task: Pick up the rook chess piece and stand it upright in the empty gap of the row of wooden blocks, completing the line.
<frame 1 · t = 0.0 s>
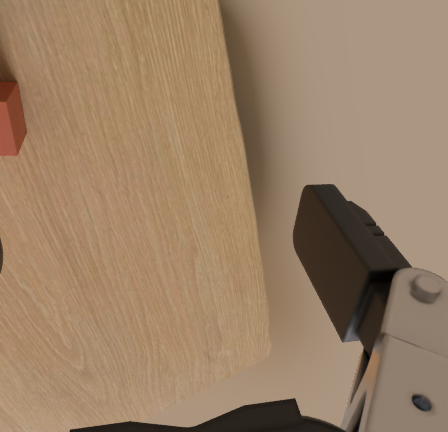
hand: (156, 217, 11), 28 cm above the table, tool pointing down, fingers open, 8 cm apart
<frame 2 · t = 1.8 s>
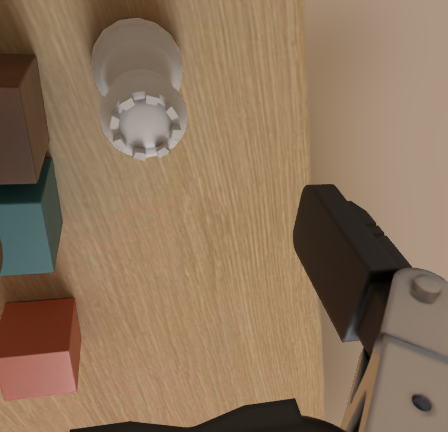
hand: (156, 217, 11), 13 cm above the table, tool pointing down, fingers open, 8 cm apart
teal block: (16, 192, 24), on the table
terracotta block: (45, 322, 31), on the table
rook chess piece: (137, 62, 22), on the table
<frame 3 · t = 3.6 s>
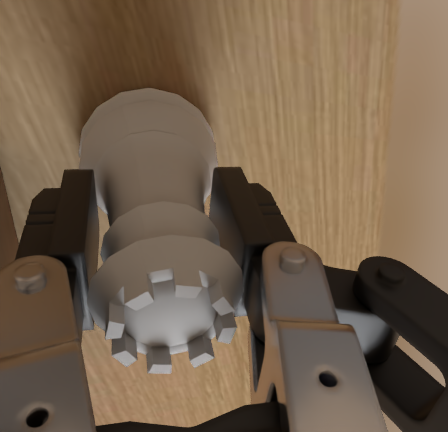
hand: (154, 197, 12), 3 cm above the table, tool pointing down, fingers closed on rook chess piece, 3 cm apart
rook chess piece: (148, 145, 15), on the table, touching gripper
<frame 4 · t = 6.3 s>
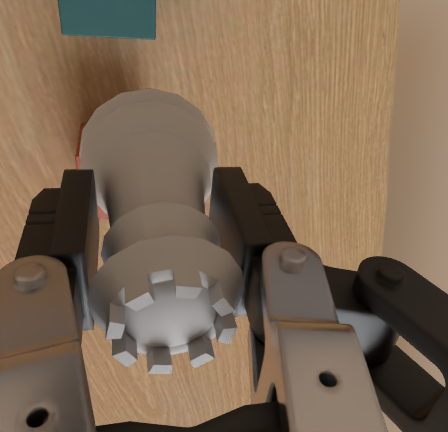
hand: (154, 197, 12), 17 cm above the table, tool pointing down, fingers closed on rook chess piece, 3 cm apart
rook chess piece: (148, 145, 15), point 14 cm above the table, touching gripper
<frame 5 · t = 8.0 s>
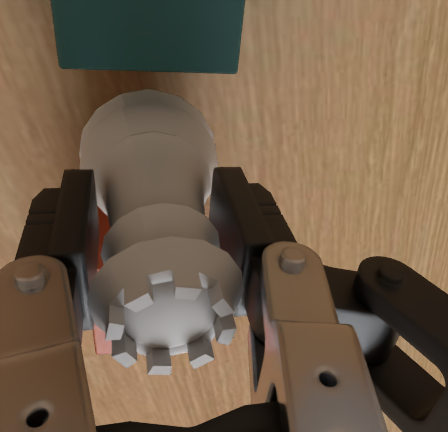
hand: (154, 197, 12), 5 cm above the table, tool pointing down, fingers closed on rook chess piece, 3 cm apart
terracotta block: (147, 236, 19), on the table
rook chess piece: (148, 146, 15), point 2 cm above the table, touching gripper
when the fingers open (3 cm above the table, at t = 9.0 s): rook chess piece stays where it is, on the table.
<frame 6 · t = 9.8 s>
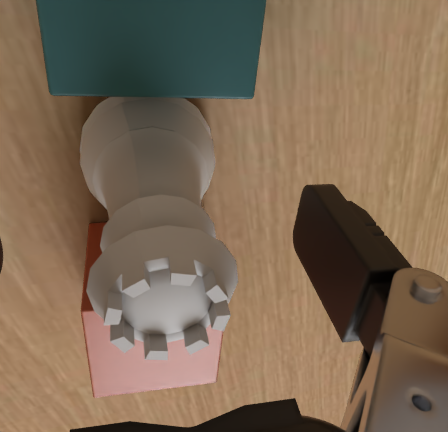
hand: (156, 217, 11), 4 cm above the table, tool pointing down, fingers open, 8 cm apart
terracotta block: (149, 263, 18), on the table
rook chess piece: (147, 142, 15), on the table
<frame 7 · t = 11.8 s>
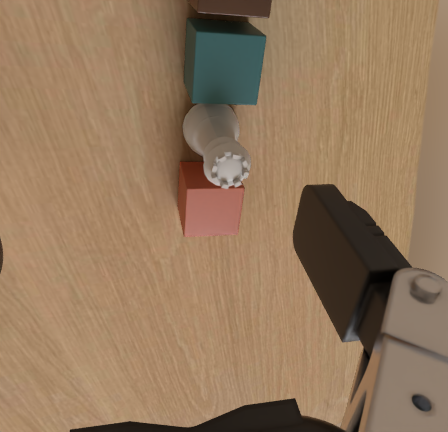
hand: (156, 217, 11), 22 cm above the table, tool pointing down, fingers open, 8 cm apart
teal block: (215, 53, 31), on the table
terracotta block: (204, 184, 37), on the table
rook chess piece: (209, 124, 34), on the table
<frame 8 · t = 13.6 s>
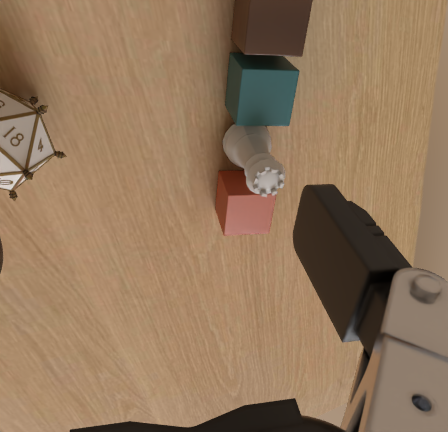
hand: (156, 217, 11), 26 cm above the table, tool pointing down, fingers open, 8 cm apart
walnut block: (261, 10, 34), on the table
teal block: (252, 80, 37), on the table
terracotta block: (238, 189, 43), on the table
rook chess piece: (244, 138, 40), on the table
game die: (9, 116, 35), on the table
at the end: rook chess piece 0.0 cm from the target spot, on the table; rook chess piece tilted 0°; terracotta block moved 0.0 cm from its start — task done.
